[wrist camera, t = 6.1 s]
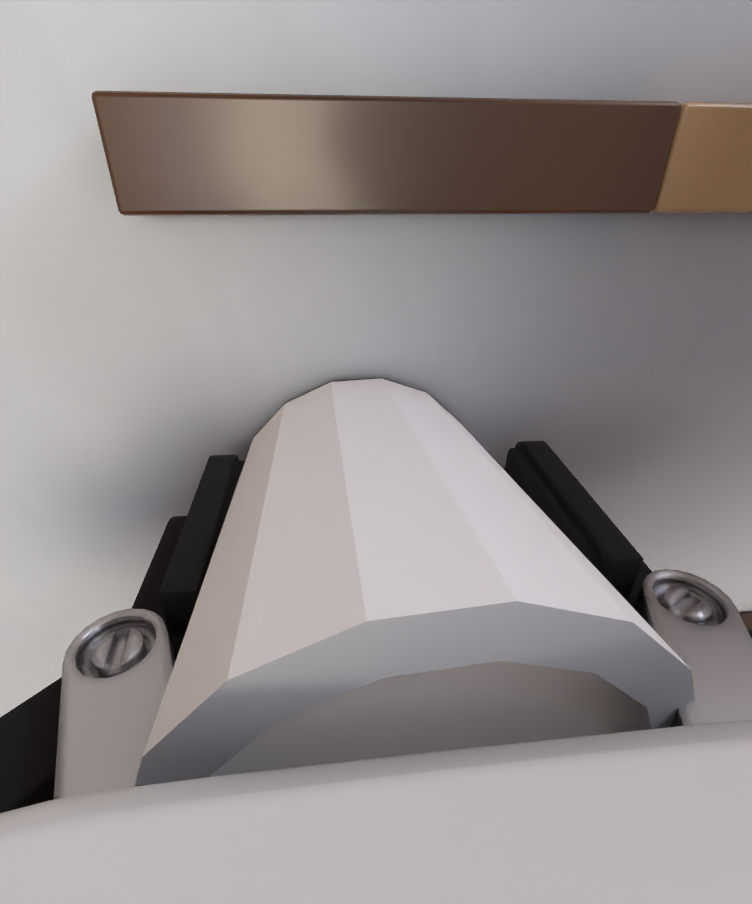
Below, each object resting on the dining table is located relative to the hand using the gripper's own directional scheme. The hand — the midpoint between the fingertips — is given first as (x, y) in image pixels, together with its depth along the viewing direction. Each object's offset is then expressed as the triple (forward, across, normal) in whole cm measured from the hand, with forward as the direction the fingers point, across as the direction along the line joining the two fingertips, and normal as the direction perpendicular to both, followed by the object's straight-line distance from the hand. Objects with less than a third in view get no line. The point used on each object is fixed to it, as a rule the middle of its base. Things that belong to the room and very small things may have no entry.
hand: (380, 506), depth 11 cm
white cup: (+1, 0, 0) cm, 1 cm away
